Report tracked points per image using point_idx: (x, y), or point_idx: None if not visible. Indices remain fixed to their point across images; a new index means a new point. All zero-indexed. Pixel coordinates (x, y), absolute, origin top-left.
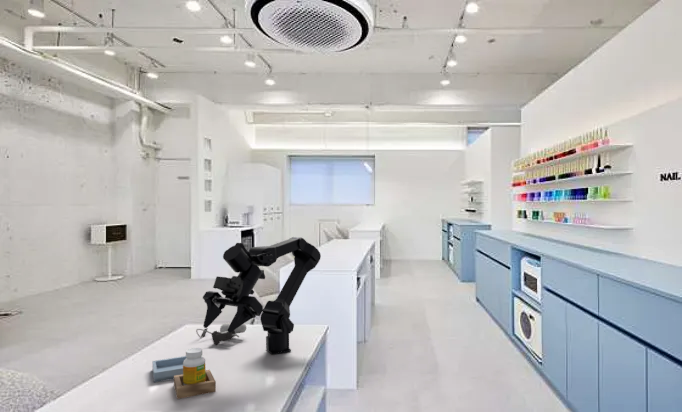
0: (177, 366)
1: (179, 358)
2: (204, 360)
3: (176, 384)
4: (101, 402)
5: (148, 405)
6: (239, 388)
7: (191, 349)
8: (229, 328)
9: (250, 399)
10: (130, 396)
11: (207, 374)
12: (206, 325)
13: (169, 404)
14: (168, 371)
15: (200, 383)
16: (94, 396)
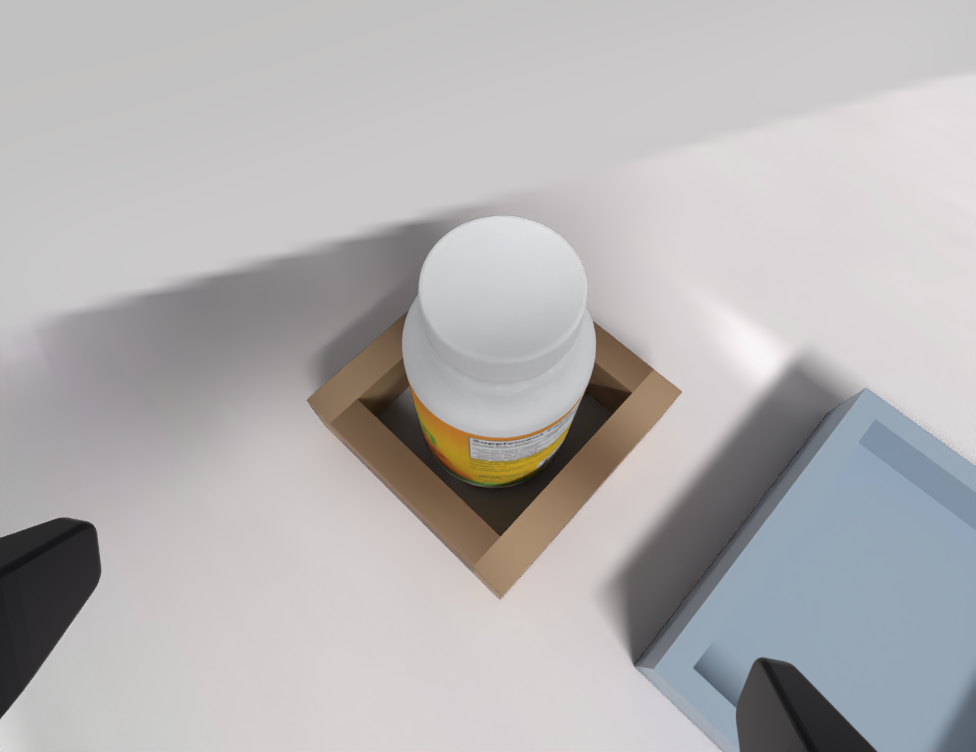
0: (933, 694)
1: None
2: (409, 367)
3: None
4: (831, 145)
5: (580, 185)
6: (184, 521)
7: (549, 294)
8: (20, 532)
9: (45, 400)
10: (765, 229)
11: (450, 494)
12: (757, 727)
13: None
14: (807, 462)
15: (394, 340)
16: (939, 178)
